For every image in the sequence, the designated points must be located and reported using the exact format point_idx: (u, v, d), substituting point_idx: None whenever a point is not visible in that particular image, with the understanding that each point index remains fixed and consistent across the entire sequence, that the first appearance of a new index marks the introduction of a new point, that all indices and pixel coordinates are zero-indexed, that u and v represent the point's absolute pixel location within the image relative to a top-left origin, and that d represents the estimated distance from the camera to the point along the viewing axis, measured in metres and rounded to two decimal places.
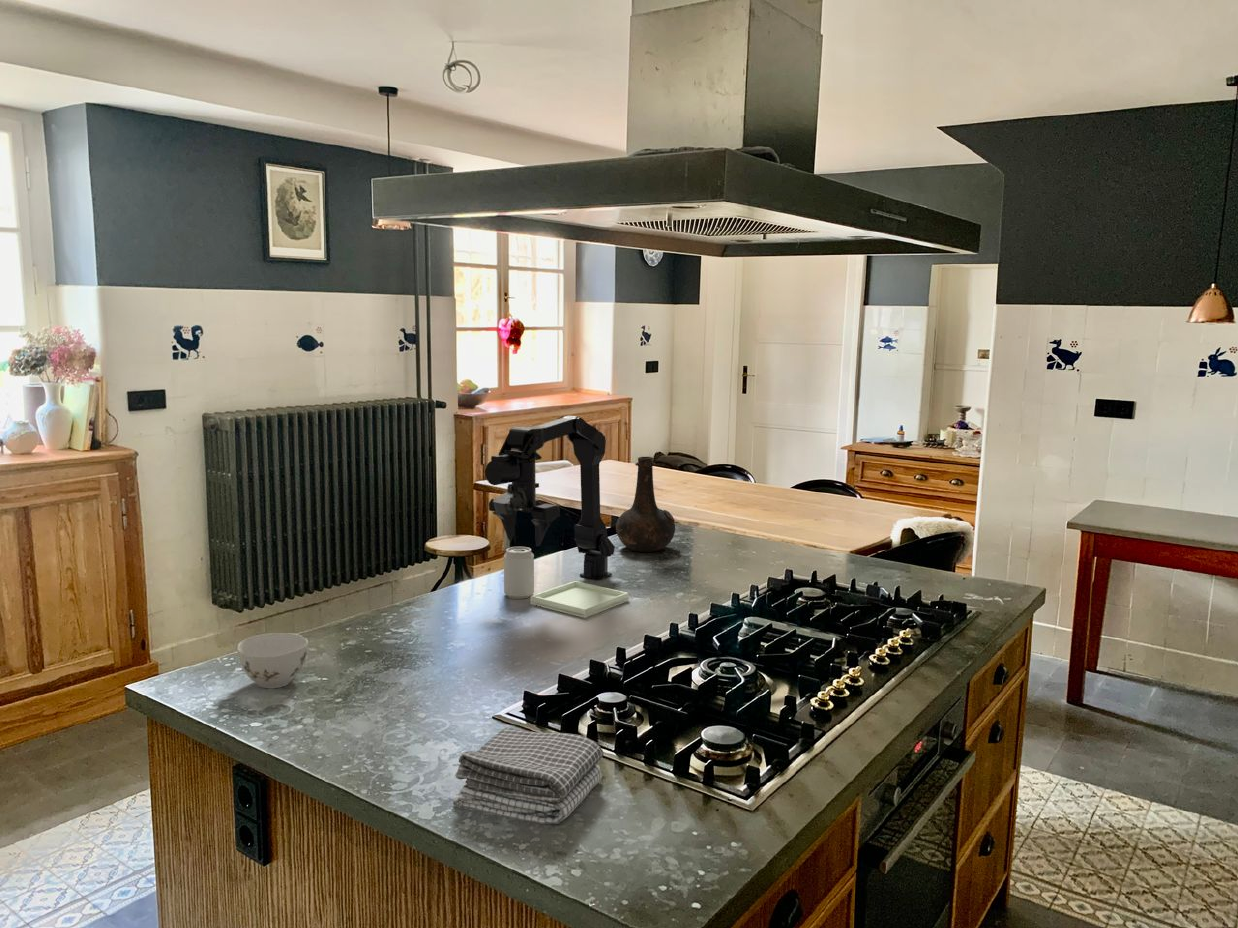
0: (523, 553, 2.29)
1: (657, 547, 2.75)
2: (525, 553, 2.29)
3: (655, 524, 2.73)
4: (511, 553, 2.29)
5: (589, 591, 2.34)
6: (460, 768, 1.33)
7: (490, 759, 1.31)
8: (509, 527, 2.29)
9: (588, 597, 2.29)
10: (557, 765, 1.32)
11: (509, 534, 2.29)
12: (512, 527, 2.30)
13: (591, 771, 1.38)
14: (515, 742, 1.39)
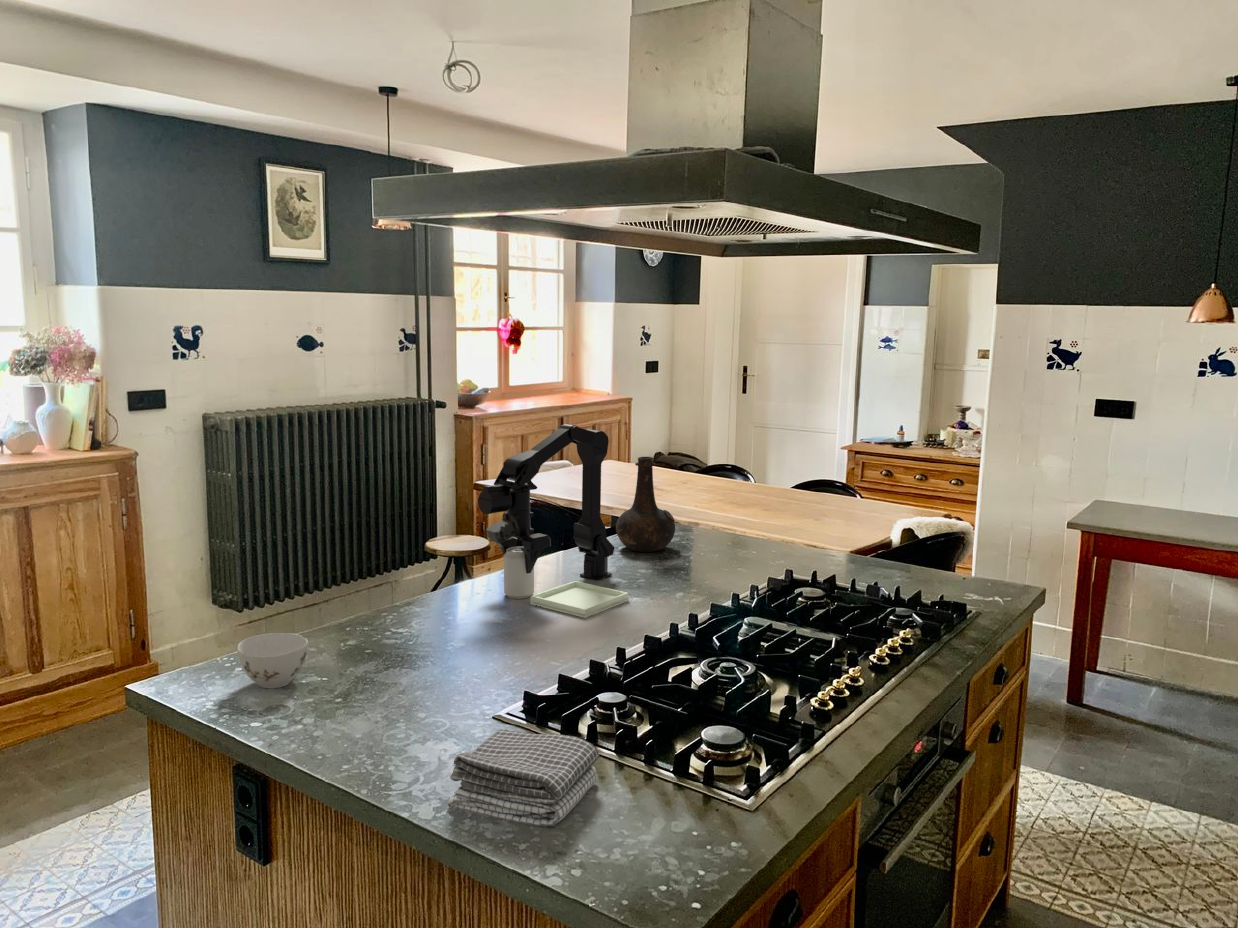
0: (523, 553, 2.29)
1: (657, 547, 2.75)
2: None
3: (655, 524, 2.73)
4: (511, 553, 2.29)
5: (589, 591, 2.34)
6: (455, 769, 1.33)
7: (485, 761, 1.31)
8: None
9: (588, 597, 2.29)
10: (553, 767, 1.31)
11: None
12: None
13: (587, 773, 1.37)
14: (510, 744, 1.39)
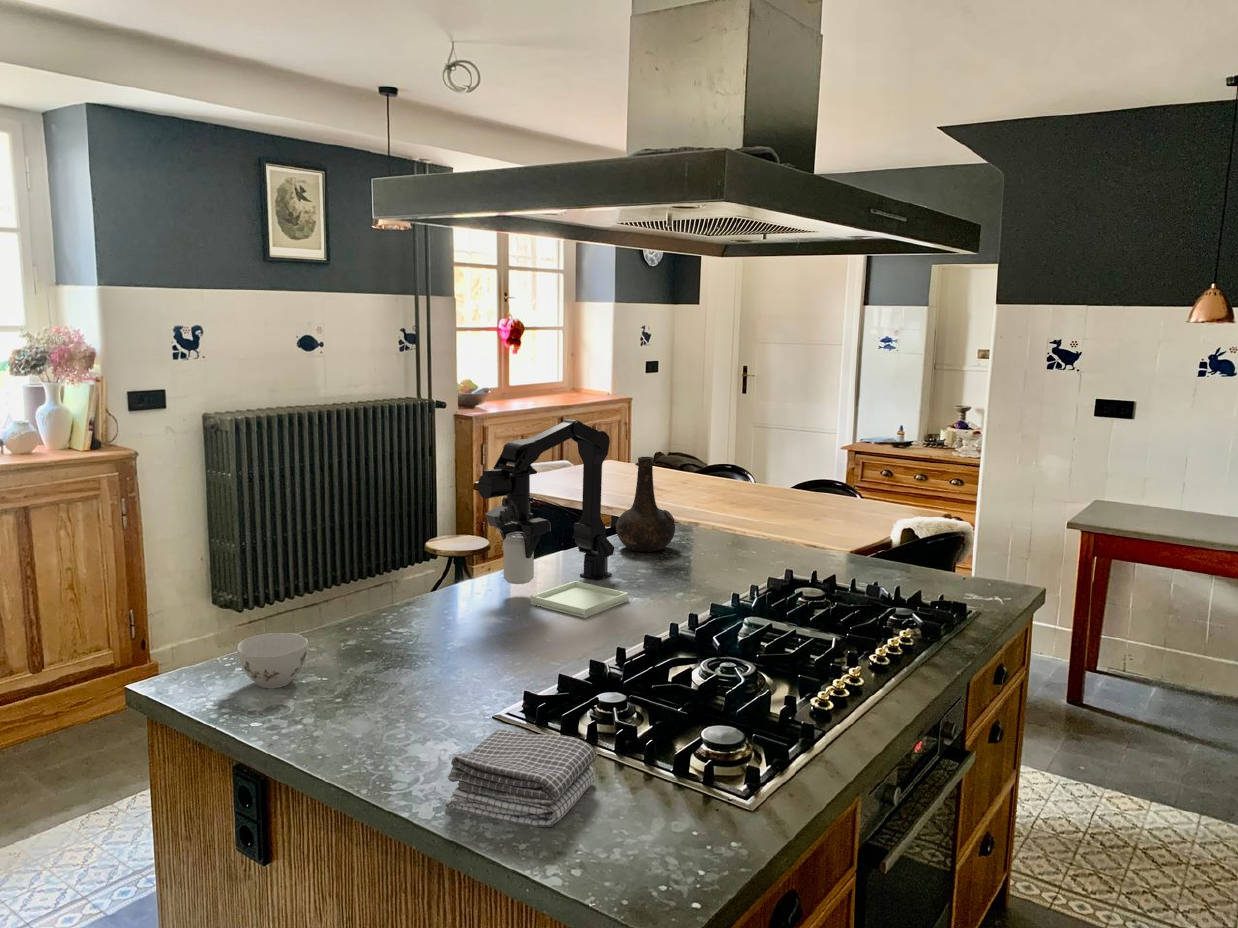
0: (523, 538, 2.28)
1: (657, 547, 2.75)
2: None
3: (655, 524, 2.73)
4: (511, 538, 2.28)
5: (589, 591, 2.34)
6: (452, 770, 1.33)
7: (483, 761, 1.31)
8: None
9: (588, 597, 2.29)
10: (550, 767, 1.31)
11: None
12: None
13: (584, 773, 1.37)
14: (508, 744, 1.39)
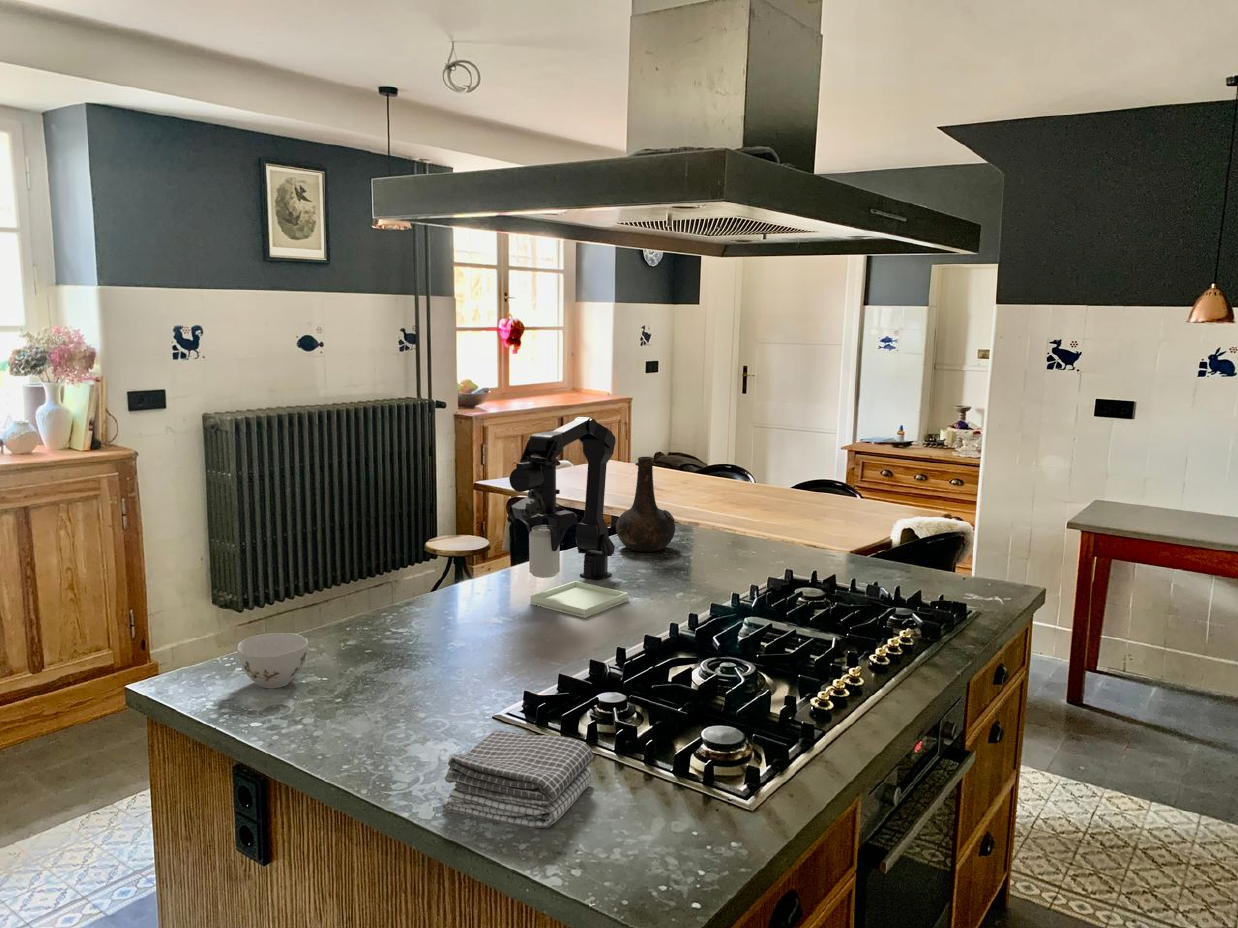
0: (549, 531, 2.26)
1: (657, 547, 2.75)
2: None
3: (655, 524, 2.73)
4: (537, 531, 2.26)
5: (589, 591, 2.34)
6: (449, 771, 1.32)
7: (480, 762, 1.30)
8: None
9: (588, 597, 2.29)
10: (548, 768, 1.31)
11: None
12: None
13: (582, 774, 1.37)
14: (505, 745, 1.38)
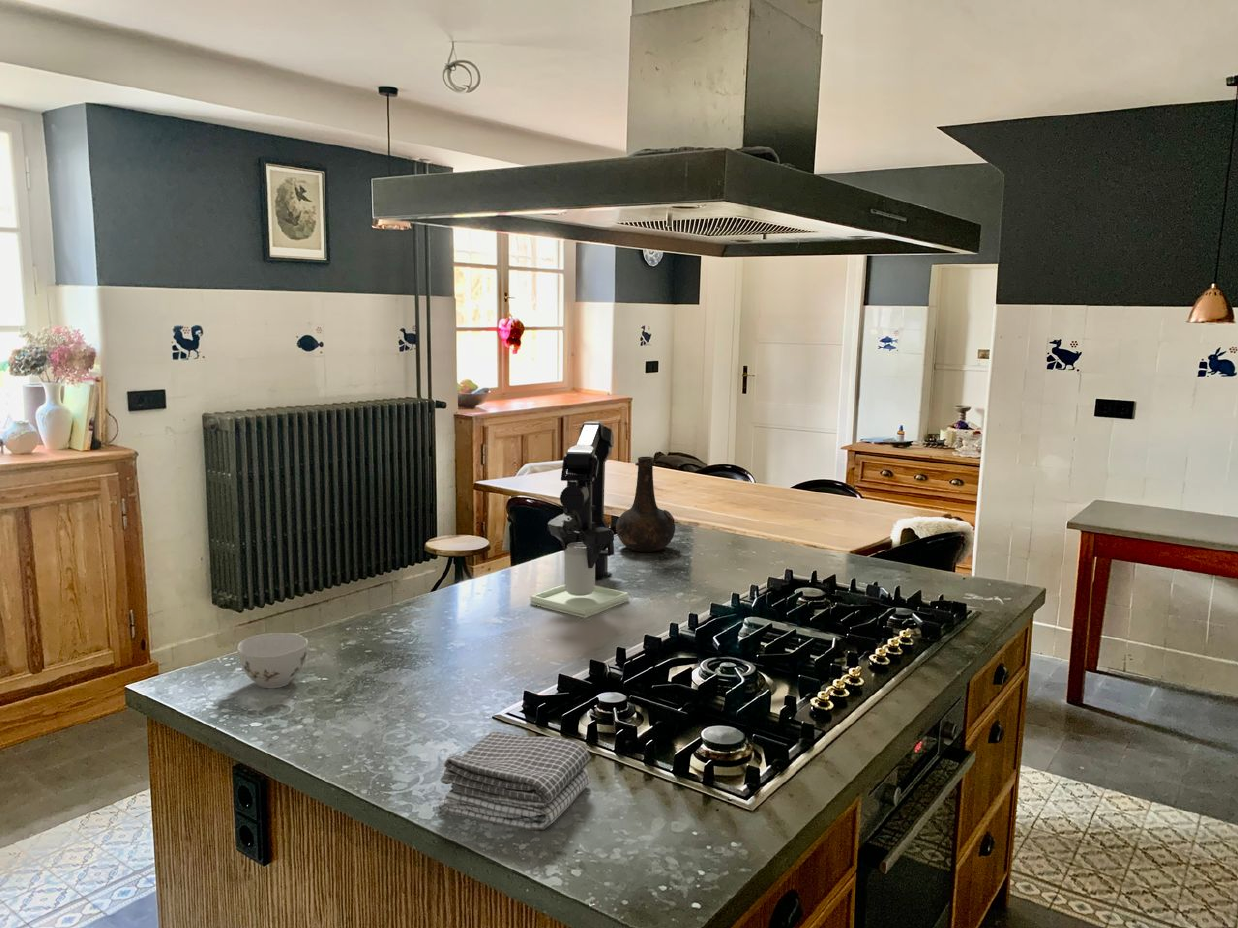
0: (585, 549, 2.23)
1: (657, 547, 2.75)
2: None
3: (655, 524, 2.73)
4: (573, 549, 2.23)
5: None
6: (445, 772, 1.32)
7: (476, 763, 1.30)
8: None
9: (588, 597, 2.29)
10: (544, 770, 1.30)
11: None
12: None
13: (578, 775, 1.36)
14: (502, 746, 1.38)
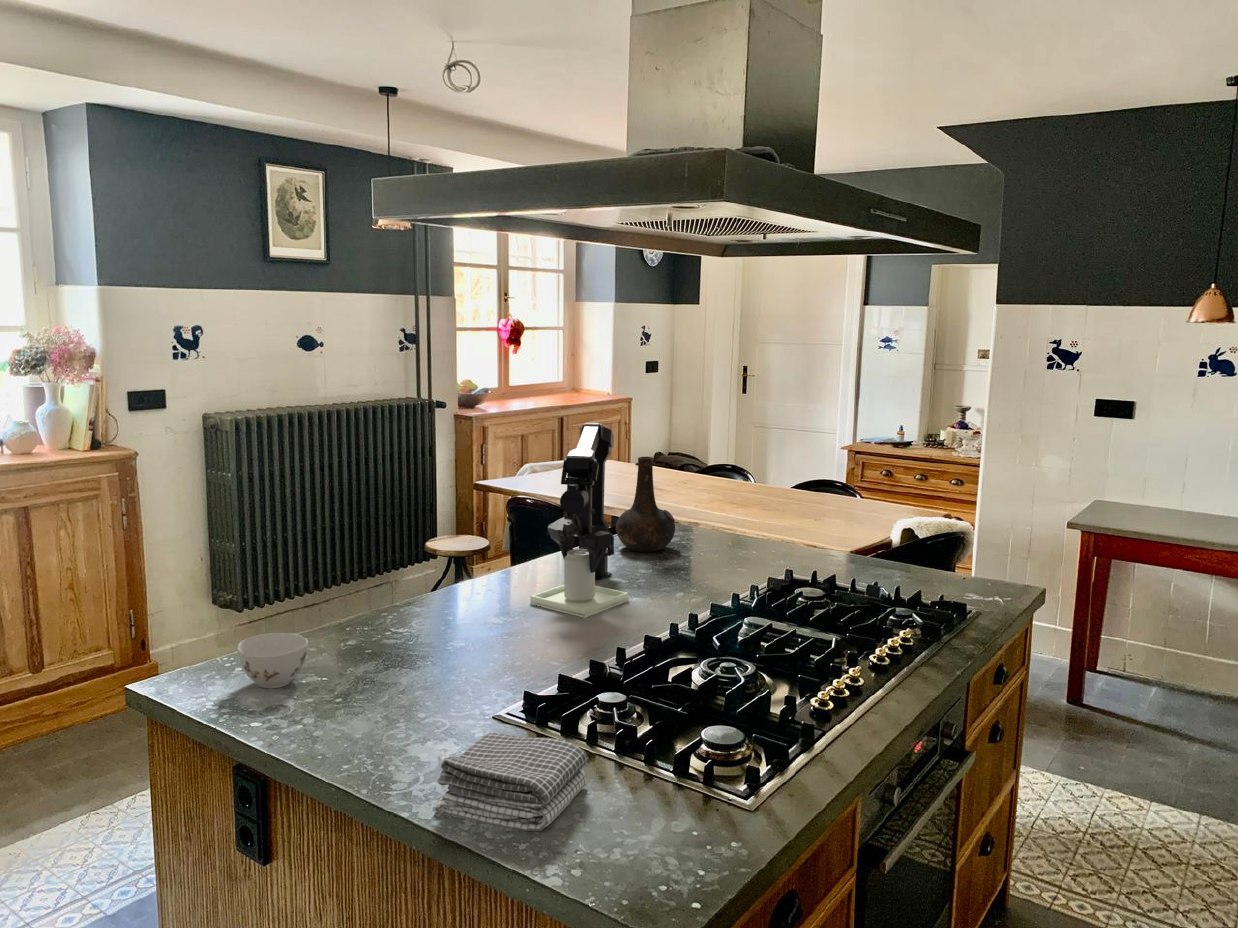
0: (585, 556, 2.24)
1: (657, 547, 2.75)
2: (587, 556, 2.24)
3: (655, 524, 2.73)
4: (573, 556, 2.24)
5: None
6: (442, 774, 1.32)
7: (472, 765, 1.30)
8: (566, 552, 2.30)
9: None
10: (541, 771, 1.30)
11: None
12: None
13: (575, 776, 1.36)
14: (499, 747, 1.38)
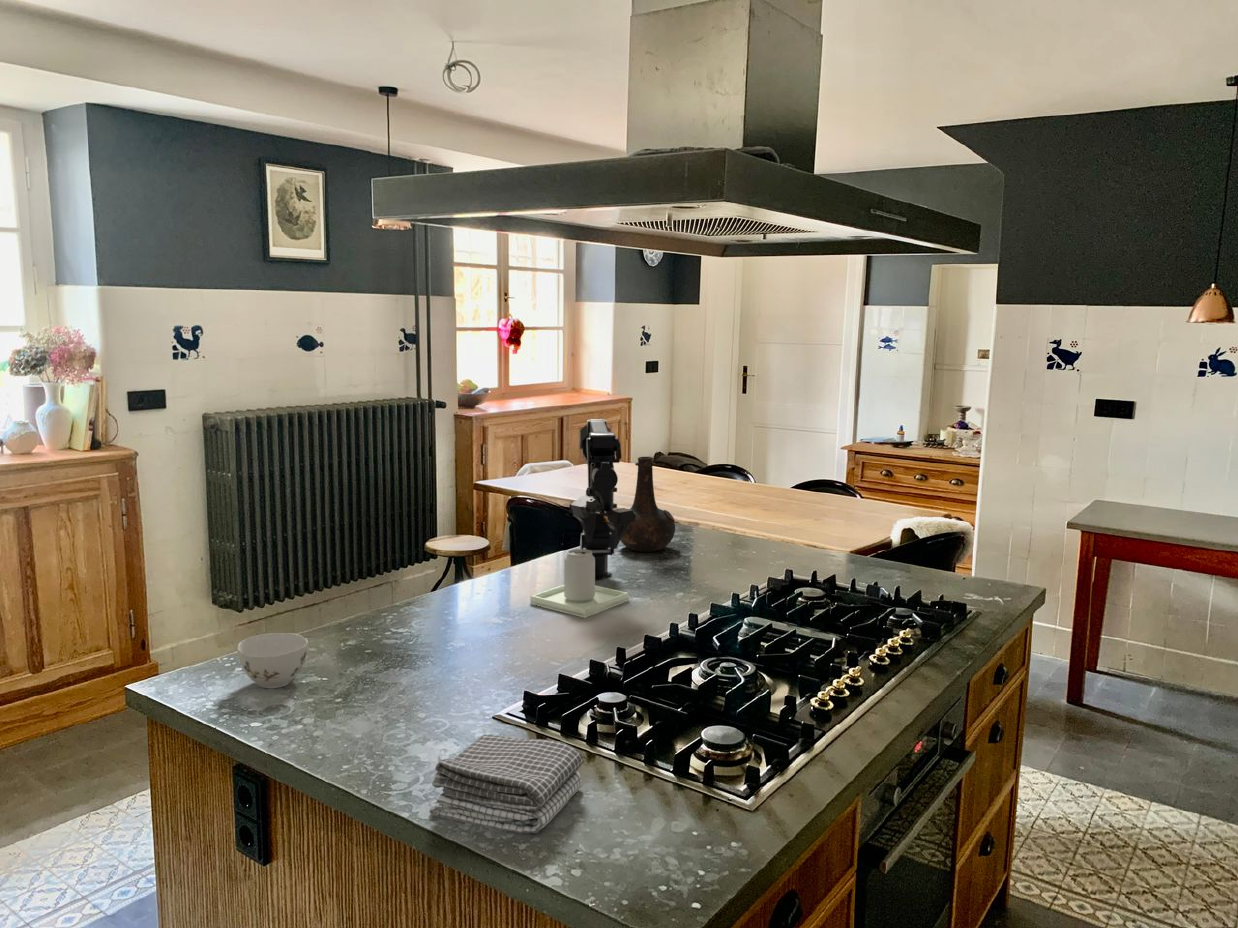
0: (585, 556, 2.24)
1: (657, 547, 2.75)
2: (587, 556, 2.24)
3: (655, 524, 2.73)
4: (573, 556, 2.24)
5: None
6: (437, 776, 1.31)
7: (467, 767, 1.29)
8: (588, 529, 2.35)
9: None
10: (536, 773, 1.29)
11: (588, 536, 2.35)
12: (591, 529, 2.35)
13: (571, 778, 1.35)
14: (494, 749, 1.37)
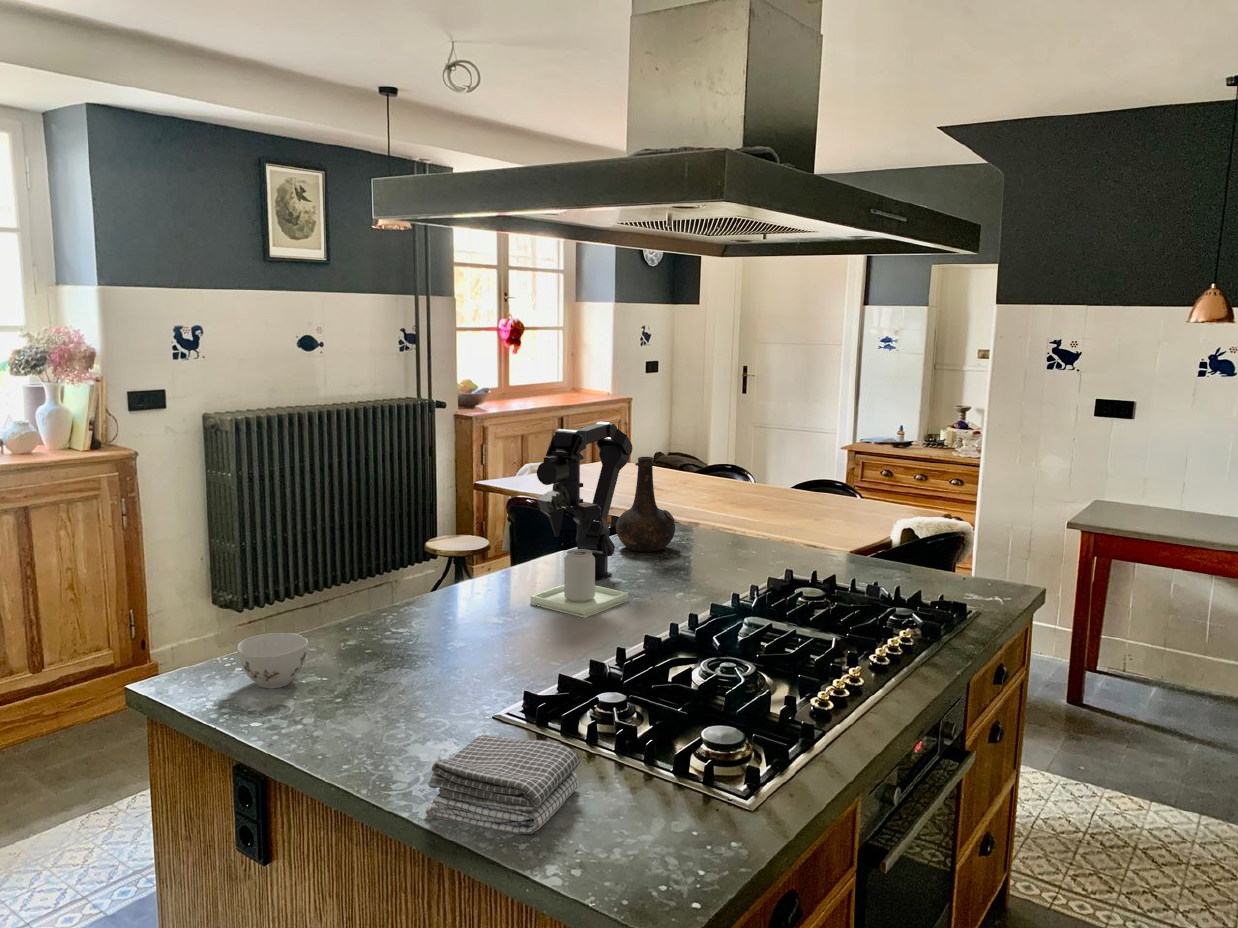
0: (585, 556, 2.24)
1: (657, 547, 2.75)
2: (587, 556, 2.24)
3: (655, 524, 2.73)
4: (573, 556, 2.24)
5: None
6: (433, 776, 1.31)
7: (463, 767, 1.29)
8: (556, 524, 2.40)
9: None
10: (532, 774, 1.29)
11: (555, 531, 2.40)
12: (559, 524, 2.41)
13: (567, 779, 1.35)
14: (490, 750, 1.37)
